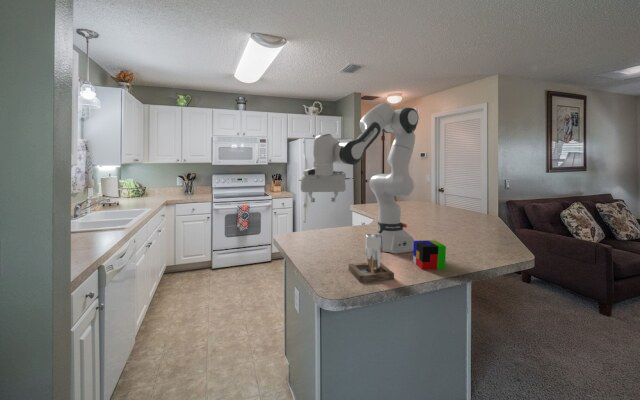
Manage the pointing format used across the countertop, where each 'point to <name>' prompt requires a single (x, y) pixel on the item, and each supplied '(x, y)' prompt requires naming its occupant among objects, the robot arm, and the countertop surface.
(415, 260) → the puzzle toy
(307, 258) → the countertop surface
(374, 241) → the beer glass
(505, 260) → the countertop surface
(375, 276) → the cradle jig
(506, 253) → the countertop surface
